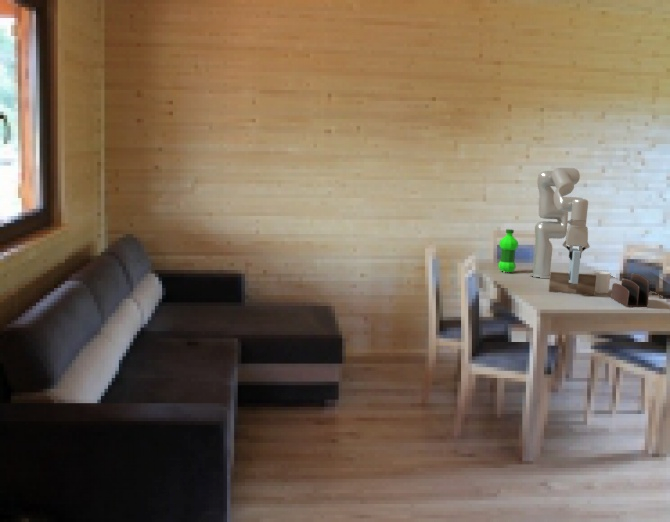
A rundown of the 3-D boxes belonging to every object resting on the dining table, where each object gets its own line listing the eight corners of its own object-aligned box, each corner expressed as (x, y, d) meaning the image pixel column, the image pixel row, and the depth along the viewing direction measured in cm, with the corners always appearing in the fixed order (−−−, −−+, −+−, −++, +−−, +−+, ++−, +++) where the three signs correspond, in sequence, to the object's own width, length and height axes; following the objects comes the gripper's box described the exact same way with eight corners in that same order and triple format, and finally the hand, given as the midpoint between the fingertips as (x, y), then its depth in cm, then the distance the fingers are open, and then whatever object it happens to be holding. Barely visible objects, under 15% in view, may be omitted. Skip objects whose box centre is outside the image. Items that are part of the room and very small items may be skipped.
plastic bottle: (494, 272, 409) (498, 229, 405) (502, 270, 417) (505, 228, 413) (510, 274, 403) (514, 231, 399) (518, 272, 411) (521, 230, 407)
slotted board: (548, 290, 361) (550, 271, 360) (593, 294, 358) (595, 274, 356) (549, 291, 359) (551, 272, 357) (594, 295, 355) (596, 275, 353)
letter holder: (630, 299, 350) (633, 271, 347) (647, 308, 330) (651, 279, 328) (610, 298, 350) (613, 270, 347) (626, 307, 330) (629, 278, 328)
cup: (596, 293, 360) (598, 273, 358) (585, 288, 371) (587, 269, 370) (611, 293, 361) (613, 274, 359) (600, 288, 372) (602, 269, 371)
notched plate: (567, 278, 364) (570, 247, 361) (573, 278, 363) (576, 248, 361) (571, 283, 350) (574, 251, 348) (577, 283, 350) (580, 252, 347)
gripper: (562, 223, 350) (558, 259, 353) (596, 225, 347) (592, 261, 350) (560, 221, 357) (557, 257, 360) (593, 223, 354) (590, 259, 357)
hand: (574, 259), depth 355 cm, fingers closed on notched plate, 3 cm apart
